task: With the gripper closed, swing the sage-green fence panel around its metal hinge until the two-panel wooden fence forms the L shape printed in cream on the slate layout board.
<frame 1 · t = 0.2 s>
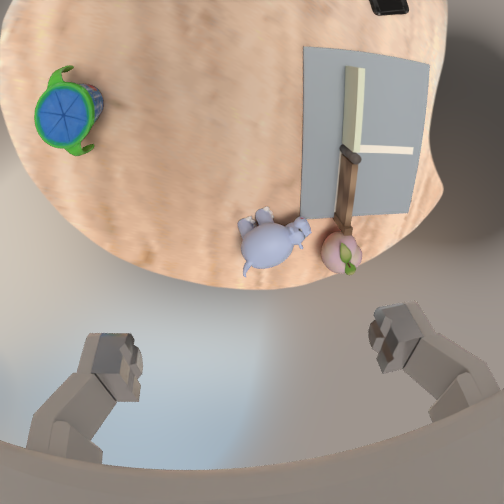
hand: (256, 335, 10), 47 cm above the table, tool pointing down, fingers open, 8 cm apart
layout board: (367, 138, 54), on the table
fence gate: (353, 107, 47), point 3 cm above the table, hinge at 0.0°
snack cup: (86, 104, 44), on the table
hippopotamus toy: (270, 228, 64), on the table
fence fixed: (343, 148, 54), resting on layout board
decorative fruit: (333, 239, 67), on the table
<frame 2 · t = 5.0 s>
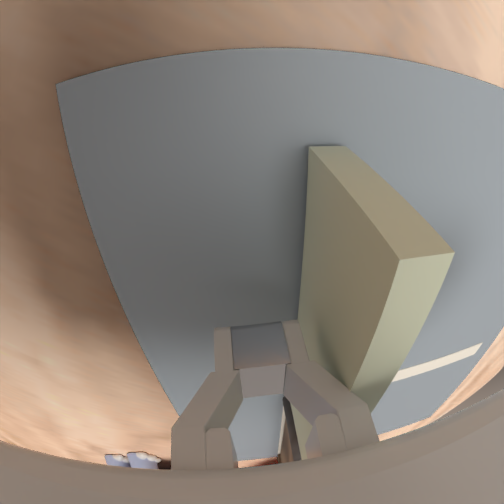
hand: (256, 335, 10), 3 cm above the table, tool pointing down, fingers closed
layout board: (372, 363, 18), on the table
fence gate: (327, 367, 11), point 3 cm above the table, hinge at 0.1°, touching gripper
hippopotamus toy: (162, 462, 29), on the table
fence fixed: (295, 397, 19), resting on layout board
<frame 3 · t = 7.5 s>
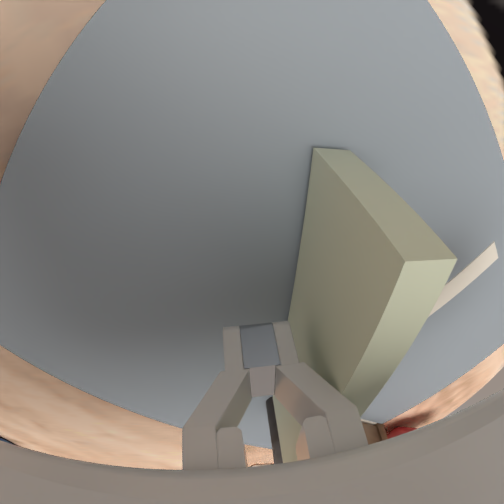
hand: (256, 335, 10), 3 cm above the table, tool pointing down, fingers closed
layout board: (322, 349, 16), on the table
fence gate: (315, 370, 11), point 3 cm above the table, hinge at 47.3°, touching gripper
fence fixed: (279, 400, 19), resting on layout board
decorative fruit: (394, 427, 29), on the table
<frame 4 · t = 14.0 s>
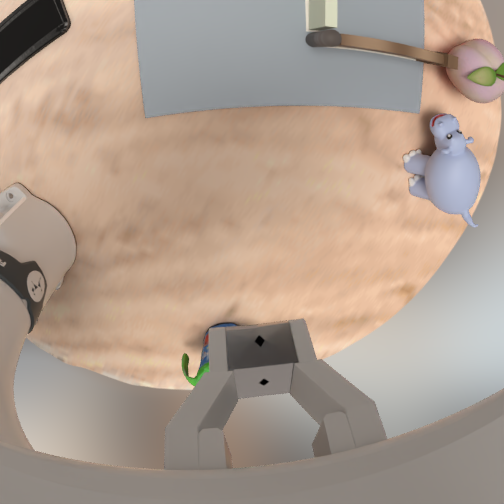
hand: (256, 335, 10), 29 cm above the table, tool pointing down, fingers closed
phone: (19, 38, 22), on the table
snack cup: (226, 334, 55), on the table
hippopotamus toy: (431, 154, 38), on the table
fence fixed: (313, 39, 28), resting on layout board
decorative fruit: (453, 65, 29), on the table
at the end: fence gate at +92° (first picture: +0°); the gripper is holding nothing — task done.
